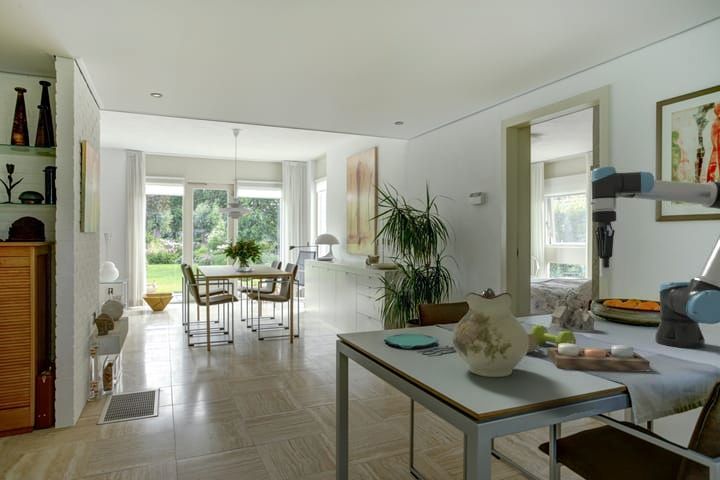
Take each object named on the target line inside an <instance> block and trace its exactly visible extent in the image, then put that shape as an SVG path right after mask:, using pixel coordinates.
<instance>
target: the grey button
mask: <svg viewBox="0 0 720 480" xmlns="http://www.w3.org/2000/svg"><path fill="white" fill-rule="evenodd" d="M610 349H611V353H612V356H613V357H618V358H633V352H634V347H633V346H631V345H630V346H629V345H625V344H613V345H611V347H610Z"/></svg>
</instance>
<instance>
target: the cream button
mask: <svg viewBox="0 0 720 480" xmlns="http://www.w3.org/2000/svg"><path fill="white" fill-rule="evenodd" d="M557 348H558V354H559V355H560V356H579V345H577V344H569V343H561V344H558V347H557Z"/></svg>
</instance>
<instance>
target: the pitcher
mask: <svg viewBox="0 0 720 480" xmlns="http://www.w3.org/2000/svg"><path fill="white" fill-rule="evenodd" d="M465 298H466V299H465V300H466V303H467V304H468V306H469V309H468V311H467V313H466V314H465V315H464V316H463V317H461V319H460V320H459V321H458V322H457V324H456V325H455V328H454V330H453V332H452V344H453V347H454V349H455V350H456V352H455V353H456V354H457V355H458V356H459V358H460V359H461V360H462V361H463V362H464V363H465V364H466V365H467V366H468V368H469V372H471V373H472V374H475V375H477V376H481V377H486V378H502V377H503V378H504V377H507V376H510V375H512V374H513V370H514V368H515V367H517V366H518V365H519V363H520V362H521V361H523V359H524V358H525V356H526V354H528V353H527V351H528V347H529V337H528V334H527V332H528V331H527V330H526V329H525V327H524V326H523V324H522V323H521V322H520V321H519V320H518V319H517V318H516V317H515V315H513V314H512V312H511V310H510V306H511V304H512V302H513V301H512V298H513V295H512V294H511V293H509V292H502V293H499V294H495V291H494V290H493V289H492V288H491V287H487V288H485V289H484V290H483V292H481V294H479V293H476V292H469V293H467V294H466V296H465Z"/></svg>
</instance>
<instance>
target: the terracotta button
mask: <svg viewBox="0 0 720 480" xmlns="http://www.w3.org/2000/svg"><path fill="white" fill-rule="evenodd" d="M584 349H585V356H589V357H606V351H605V350H603V349H604V348H597V347H586V348H584Z"/></svg>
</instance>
